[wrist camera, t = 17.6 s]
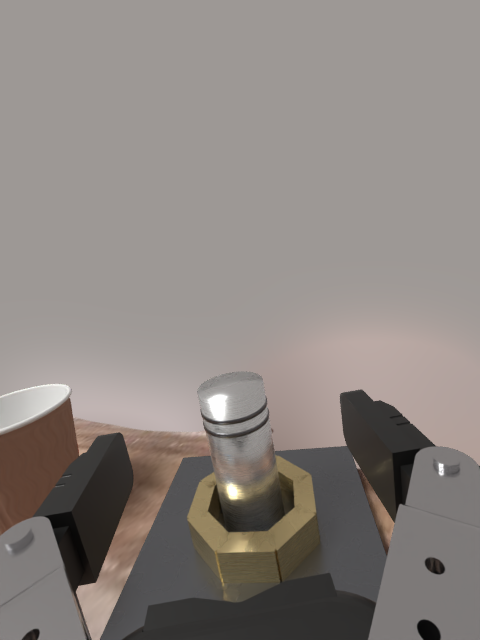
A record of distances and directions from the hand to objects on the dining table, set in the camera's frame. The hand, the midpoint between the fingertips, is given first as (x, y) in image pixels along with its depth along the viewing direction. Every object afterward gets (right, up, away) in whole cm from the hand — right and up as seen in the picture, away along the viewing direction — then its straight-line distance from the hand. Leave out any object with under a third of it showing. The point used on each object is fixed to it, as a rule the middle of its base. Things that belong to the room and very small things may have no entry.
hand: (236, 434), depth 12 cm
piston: (+1, -12, +14) cm, 19 cm away
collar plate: (+2, -13, +14) cm, 19 cm away
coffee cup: (-19, -16, +19) cm, 31 cm away
